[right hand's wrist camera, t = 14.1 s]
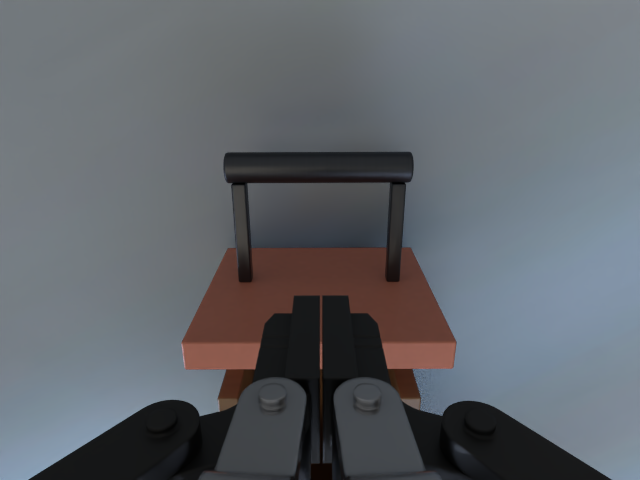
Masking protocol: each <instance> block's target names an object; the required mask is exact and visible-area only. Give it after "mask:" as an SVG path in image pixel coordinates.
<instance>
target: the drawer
mask: <svg viewBox="0 0 640 480" xmlns="http://www.w3.org/2000/svg"><path fill="white" fill-rule="evenodd" d="M413 167H414V164H413V156H412V153H411V152H238V153H226V154H225V156H224V176H225V180H226V182H227V183H232V185H231V188H232V201H233V214H234V227H235V240H236V248H228V249H227V251H226V253H225V255H224V257H223V259H222V261H221V263H220V265H219V267H218V269H217V272H216V274H215V276H214V278H213V280H212V282H211V284H210V286H209V288H208V290H207V292H206V294H205V296H204V298H203V300H202V302H201V304H200V306H199V308H198V310H197V312H196V314H195V316H194V318H193V320H192V322H191V324H190V326H189V328H188V331H187V333H186V335H185V337H184V339H183V341H182V343H181V344H182V351H183V359H184V366H185V369H226V373H225V376H224V379H223V383H222V386H221V389H220V393H219V396H218V407H219V412H220V411H223V410H226V409H228V408H231V407H233V406H234V405H236V404H237V403H238V401H239V398H240V395H241V393H242V392H243V391H244V389H245V388H247V387H248V386H249V385H250V384H252V382H253V377H254V372H255V367H256V363H257V358H258V353H259V348H260V344H261V339H262V334H263V329H264V324H265V323H266V322H267V321H268V320H269V319H270V318H271V316H272V315H273V314H274V313H292V308H293V299H294V295H320V463H311V479H310V480H332V463H323V406H322V295H348V297H349V305H350V313H368V314H369V315H370V316H371V317H372V318H373V319H374V320H375V321H376V322H377V323H378V327H379V332H380V338H381V341H382V347H383V350H384V355H385V359H386V364H387V368H388V373H389V377H390V382H391V386H392V387H393V388H395V389H396V391H397V392H398V393H399V395H400V398H401V400H402V401H403V402H404V403H406V404H407V405H409V406H411V407H413V408H415V409H418V410H420V404H421V396H420V393H419V390H418V386H417V383H416V380H415V376H414V373H413V370H412V369H452V368H453V366H454V358H455V350H456V340H455V338H454V336H453V334H452V332H451V330H450V328H449V326H448V324H447V322H446V320H445V317H444V315H443V313H442V311H441V309H440V307H439V305H438V303H437V301H436V299H435V297H434V295H433V293H432V291H431V289H430V287H429V285H428V282H427V280H426V278H425V276H424V274H423V272H422V270H421V268H420V266H419V264H418V262H417V260H416V258H415V256H414V254H413V252H412V249H411V248H402V236H403V221H404V206H405V192H406V184H405V182H411V180H412V176H413ZM247 183H390V192H389V211H388V230H387V248H251V233H250V218H249V202H248V186H247Z"/></svg>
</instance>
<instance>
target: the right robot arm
mask: <svg viewBox="0 0 640 480" xmlns="http://www.w3.org/2000/svg"><path fill="white" fill-rule="evenodd" d="M322 406H323V463H332V480H611V479H610V478H608V477H606V476H605V475H603V474H602V473H600V472H598V471H597V470H595V469H594V468H592V467H590V466H589V465H587V464H586V463H584V462H582V461H581V460H579V459H577V458H576V457H574V456H573V455H571V454H569V453H568V452H566V451H565V450H563V449H561V448H560V447H558V446H557V445H555V444H553V443H552V442H550V441H549V440H547V439H545V438H544V437H542V436H541V435H539V434H537V433H536V432H534V431H532V430H531V429H529V428H528V427H526V426H524V425H523V424H521V423H520V422H518V421H516V420H515V419H513V418H512V417H510V416H508V415H507V414H505V413H504V412H502V411H500V410H499V409H497V408H495V407H493V406H490V405H488V404H485V403H481V402H476V401H462V402H457V403H454V404H452V405H450V406H449V407H448V408H447V409H446V410H445V411H444V413H443V416H440V415H436V414H432V413H428V412H424V411H421V410H418V409H415V408H413V407H411V406H409V405H407V404H406V403H404V402H403V401H402V400H401V398H400V395H399V393H398V392H397V391H396V389H395V388H393V387H392V386H391V382H390V377H389V373H388V368H387V364H386V359H385V355H384V350H383V347H382V341H381V338H380V332H379V327H378V323H377V322H376V321H375V320H374V319H373V318H372V317H371V316H370V315H369V314H368V313H350V305H349V297H348V295H322ZM311 463H320V295H294V299H293V308H292V313H274V314H273V315H272V316H271V318H270V319H269V320H268V321H267V322H266V323H265V324H264V329H263V334H262V339H261V344H260V348H259V353H258V358H257V363H256V367H255V372H254V377H253V382H252V384H250V385H249V386H248V387H247V388H245V389H244V391H243V392H242V393H241V395H240V398H239V401H238V403H237V404H236V405H234V406H233V407H231V408H228V409H226V410H223V411H220V412H216V413H212V414H208V415H204V416H200V417H199V413H198V411H197V409H196V408H195V407H194V406H193V405H191V404H190V403H188V402H185V401H180V400H165V401H160V402H157V403H154V404H151V405H149V406H147V407H145V408H143V409H141V410H140V411H138V412H136V413H135V414H133V415H132V416H130V417H128V418H127V419H125V420H124V421H122V422H120V423H119V424H117V425H116V426H114V427H112V428H111V429H109V430H108V431H106V432H104V433H103V434H101V435H100V436H98V437H96V438H95V439H93V440H91V441H90V442H88V443H87V444H85V445H83V446H82V447H80V448H79V449H77V450H75V451H74V452H72V453H71V454H69V455H67V456H66V457H64V458H63V459H61V460H59V461H58V462H56V463H54V464H53V465H51V466H50V467H48V468H46V469H45V470H43V471H42V472H40V473H38V474H37V475H35V476H34V477H32V478H30V479H29V480H310V479H311Z"/></svg>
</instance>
